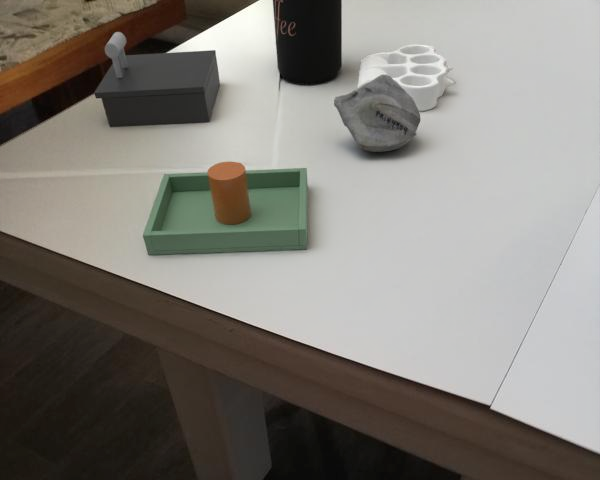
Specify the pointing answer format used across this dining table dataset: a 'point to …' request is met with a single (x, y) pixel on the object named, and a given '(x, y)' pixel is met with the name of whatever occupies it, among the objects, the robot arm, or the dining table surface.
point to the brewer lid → (153, 72)
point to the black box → (164, 107)
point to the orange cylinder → (229, 192)
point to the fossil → (379, 115)
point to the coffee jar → (308, 39)
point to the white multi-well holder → (410, 72)
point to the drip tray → (221, 237)
